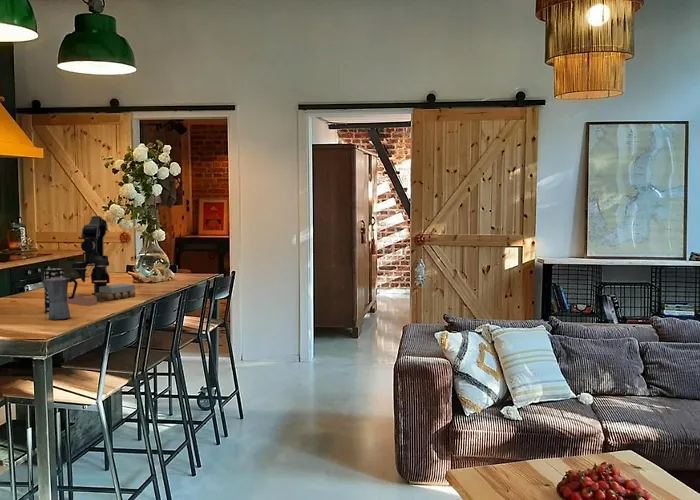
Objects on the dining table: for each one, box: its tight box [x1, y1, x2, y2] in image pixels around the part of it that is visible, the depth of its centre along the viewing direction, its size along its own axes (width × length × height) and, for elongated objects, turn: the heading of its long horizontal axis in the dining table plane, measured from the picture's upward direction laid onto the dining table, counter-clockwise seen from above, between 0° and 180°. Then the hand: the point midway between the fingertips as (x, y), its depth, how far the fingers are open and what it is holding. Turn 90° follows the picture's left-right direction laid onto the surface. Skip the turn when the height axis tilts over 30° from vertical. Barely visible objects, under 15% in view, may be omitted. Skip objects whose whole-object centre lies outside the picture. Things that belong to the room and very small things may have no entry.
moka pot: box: [41, 273, 79, 321], centre depth 289 cm, size 10×15×20 cm, turn 95°
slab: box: [99, 283, 136, 294], centre depth 349 cm, size 9×16×3 cm, turn 153°
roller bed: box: [94, 290, 136, 303], centre depth 343 cm, size 10×28×4 cm, turn 153°
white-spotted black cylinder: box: [43, 267, 65, 315], centre depth 303 cm, size 8×8×20 cm
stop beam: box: [67, 293, 98, 307], centre depth 328 cm, size 16×5×4 cm, turn 63°
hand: (91, 281), depth 333 cm, fingers open, 9 cm apart
